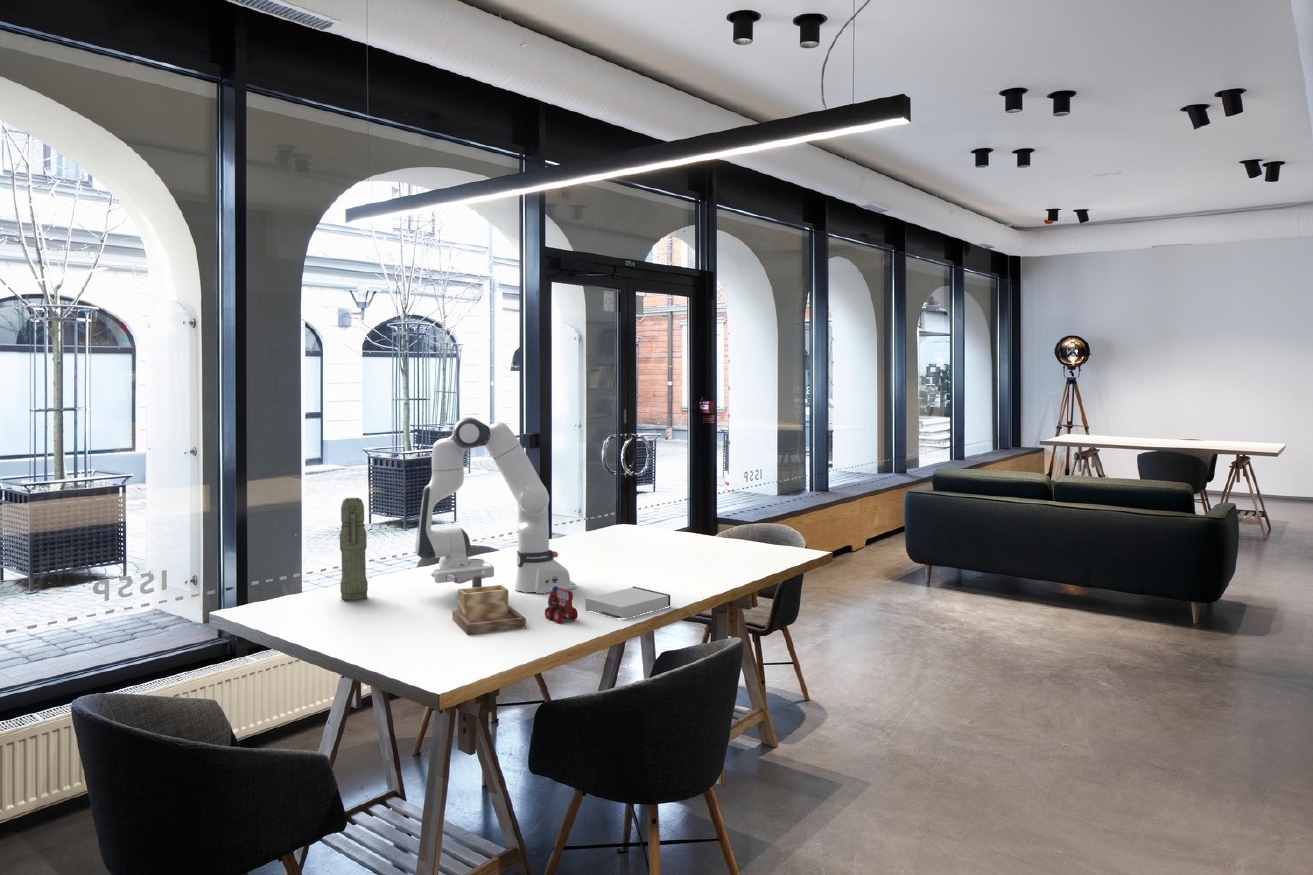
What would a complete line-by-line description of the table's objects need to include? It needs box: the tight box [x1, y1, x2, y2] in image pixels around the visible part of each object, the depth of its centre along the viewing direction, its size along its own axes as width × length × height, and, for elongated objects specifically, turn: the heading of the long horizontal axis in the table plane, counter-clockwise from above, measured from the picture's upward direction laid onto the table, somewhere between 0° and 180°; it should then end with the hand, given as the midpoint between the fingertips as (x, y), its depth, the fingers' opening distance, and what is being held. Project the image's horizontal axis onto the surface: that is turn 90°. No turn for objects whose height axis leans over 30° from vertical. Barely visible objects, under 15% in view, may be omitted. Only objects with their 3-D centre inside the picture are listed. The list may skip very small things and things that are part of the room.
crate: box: [457, 575, 509, 620], centre depth 287 cm, size 14×13×11 cm
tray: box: [451, 604, 527, 636], centre depth 279 cm, size 18×19×3 cm
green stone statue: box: [339, 497, 369, 602], centre depth 312 cm, size 9×12×35 cm
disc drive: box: [584, 586, 671, 619], centre depth 298 cm, size 18×22×5 cm
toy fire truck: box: [544, 586, 579, 624], centre depth 284 cm, size 7×12×10 cm, turn 38°
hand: (469, 577), depth 301 cm, fingers open, 8 cm apart
